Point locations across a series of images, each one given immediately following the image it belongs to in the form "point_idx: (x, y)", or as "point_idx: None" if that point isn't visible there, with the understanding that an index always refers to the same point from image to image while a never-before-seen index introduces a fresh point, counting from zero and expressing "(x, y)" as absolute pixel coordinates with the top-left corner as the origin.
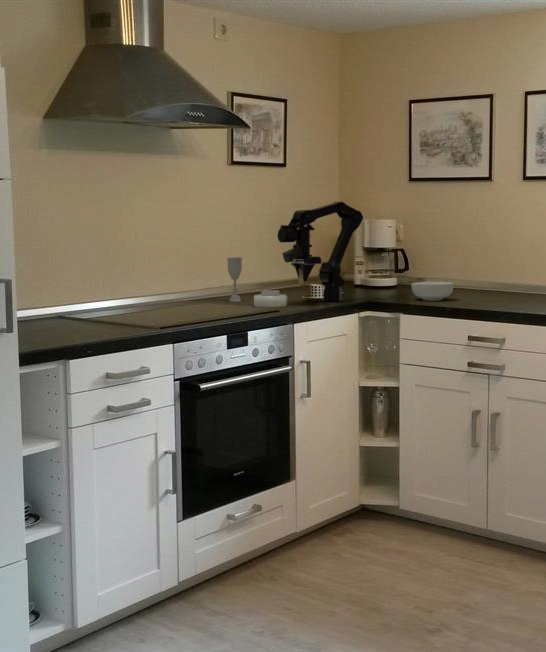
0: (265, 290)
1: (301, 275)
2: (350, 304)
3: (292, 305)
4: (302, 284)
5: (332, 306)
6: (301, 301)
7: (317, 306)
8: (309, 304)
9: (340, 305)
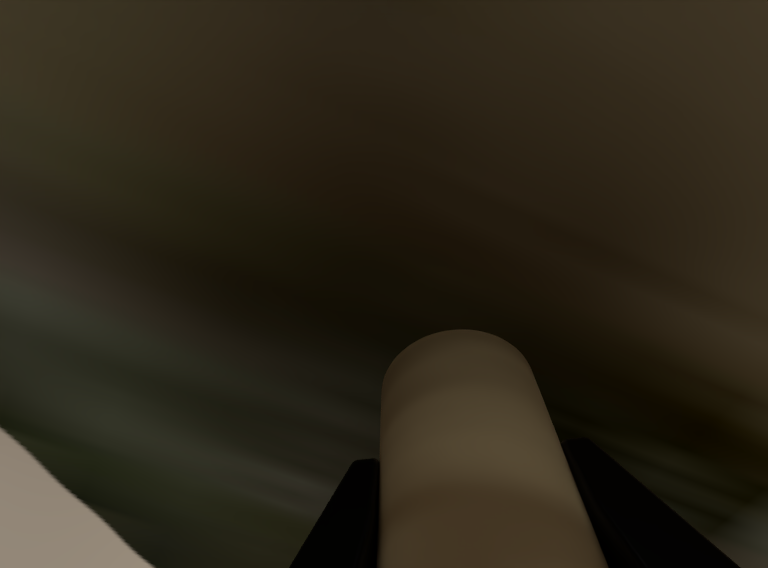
0: None
1: (407, 553)
2: (157, 560)
3: (266, 21)
4: (392, 384)
5: (12, 390)
6: (672, 332)
7: (43, 265)
8: (301, 277)
9: (93, 477)
